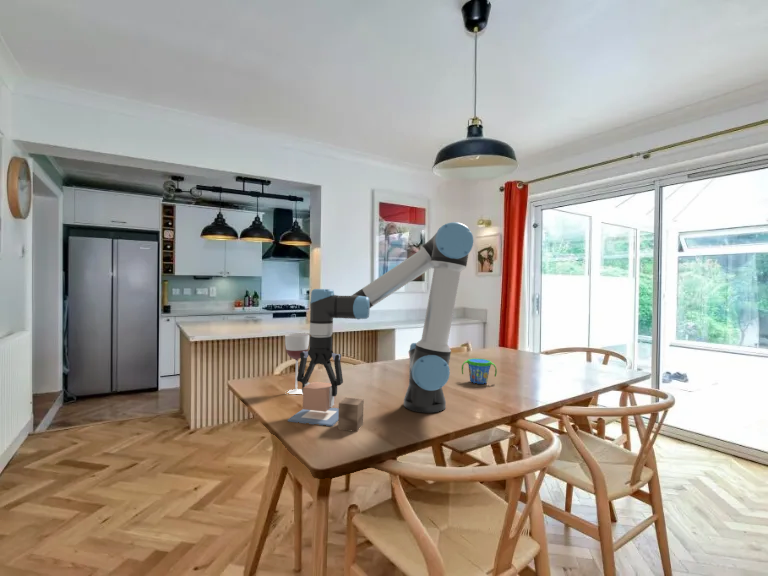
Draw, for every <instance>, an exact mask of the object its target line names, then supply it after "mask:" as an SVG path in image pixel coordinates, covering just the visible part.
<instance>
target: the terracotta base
mask: <svg viewBox="0 0 768 576" xmlns="http://www.w3.org/2000/svg"><path fill="white" fill-rule="evenodd" d="M309 383H310V384H309V385H307V386H305V387H303V394H302V409H305V410H314V411H323V412H326V411H327V410H329V409H330V408H332V407H333V406H335V405H336V396H334V405H333V406H332V407H329V387H330V386H332V385H331V382H322V381H321V382H320V381H312V382H309Z"/></svg>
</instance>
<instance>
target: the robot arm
mask: <svg viewBox="0 0 768 576" xmlns="http://www.w3.org/2000/svg"><path fill="white" fill-rule="evenodd" d="M473 246H474V236H473V233H472V231H471V230H470V228H469V227H468V225H465V224H463V223H461V222H457V221H452V222H447V223H445V224H443V225H441V227H439V228H438V230H437V232H435V234H434V235H433V236H432V237H431V238H430V239H429V240H428V241H427V242H426V243H424V244H422V245H421V246H420V249H419V250H418V251H417V252H416V253H414V254H412V255H411V256H409V257H408V258H407V259H405V260H404V261H403V260H402V261H401V262H399V264H397V265H396V266H394V267H392V268H391V269H390V270H388V271H386V272H385V273H384V274H383V273H382V275H381V276H379V277H377V278H376V279H374V280H373V281H371V282H370V283H368V284H367V285H366V286H365V285H364V287H362V288H361V289H359V290H358V291H356V292H355V293H353V294H351V295H337V294H335V292H334V289H330V288H329V289H328V288H314V289H312V290H311V293H310V301H309V307H310V309H309V316H310V317H309V319H310V320H309V346H308V350H307V352H306V351H303V352H301V353H300V359H299V360H300V361H299V365H298V376H297V381H298V382H300V383H301V384H302V385H301V389H302V393H303V387H305V386H307V385H309V384H310V383H311V382H309V381H310V378H311V377H312V373H313V371H314V370H315V367H316V365H318V364H319V365H323V367H324V368H325V370H326V371H325V372H326V374H327V376H328V379H329V383H331V385H332V386H330V387H329V407H331V408H333V405H334V396H335V397H336V396H337V395H338V387H339V386H340V385H342V384H343V383H344V379H343V371H342V364H341V360H342V359H341V358H342V354H341V353H334V351H333V336H332V335H333V331H334V330H333V327H334V320H333V319H355V320H366V319H368V318H369V317H370V311H371V310H370V309H371V308H372V307H374V306H375V305H377V304H379V303H380V302H381V301H383V300H385V299H386V298H388V297H390V296H391V295H393V293H395V292H397V291H399V290H400V289H401V288H403V287H405V286H406V285H408V284H409V283H410V282H413V281H414V280H415V279H417V278H418V277H420V276H422V275H423V274H424V273H426V272H428V271H429V270H431V269H433V273H432V279H431V284H430V290H429V296H428V301H427V306H426V312H425V319H424V324H423V329H422V335H421V339H420V340H419V341H418V342H412V343H411V344H410V345H409V351H408V352H409V369H408V371H409V373H408V374H409V375H408V376H409V377H408V378H409V379H408V380H409V381H408V385H407V386H408V387H407V389H406V392H405V395H404V398H403V407H404V408H406V409H407V410H409V411H411V412H416V413H417V412H418V413H424V414H425V413H427V414H431V413H438V412H439V411H440V412H442V410H443V411H444V410H445V409H446V408H447V407H446V404H447V402H446V397H445V395H444V391H443V387H445V385H446V384H447V383H448V381H449V379H450V374H451V372H450V371H451V369H450V366H449V364H450V359H451V354H452V350H451V348H450V346H449V339H450V333H451V332H450V331H451V326H452V322H453V316H454V315H453V314H454V309H455V304H456V300H457V294H458V287H459V282H460V276H461V273H462V271H463V270H465V269H467V265H468V259H469V254H470V252H471V251H472V249H473ZM308 358H310V361H309V364H308V366H307V362H308ZM332 358H333V359H332ZM331 359H332V360H333V363H334V368H333V367H332V362H331ZM306 367H307V369H306ZM334 406H335V405H334Z"/></svg>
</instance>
